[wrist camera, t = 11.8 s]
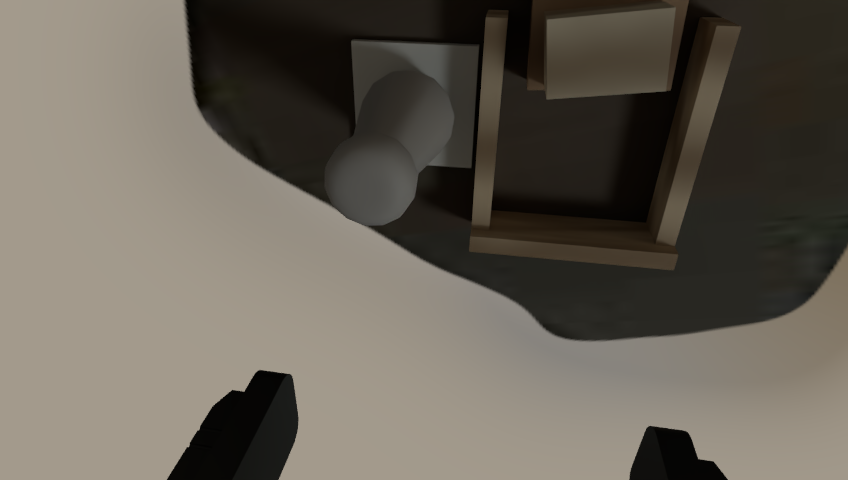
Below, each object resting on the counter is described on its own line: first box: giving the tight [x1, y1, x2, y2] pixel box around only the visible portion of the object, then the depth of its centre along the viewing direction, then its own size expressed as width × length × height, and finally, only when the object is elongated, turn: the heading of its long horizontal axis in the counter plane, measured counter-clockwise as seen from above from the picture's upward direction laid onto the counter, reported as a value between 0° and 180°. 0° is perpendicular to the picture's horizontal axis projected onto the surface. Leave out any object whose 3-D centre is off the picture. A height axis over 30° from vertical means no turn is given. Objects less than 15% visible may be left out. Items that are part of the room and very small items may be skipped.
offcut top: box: [544, 0, 676, 99], centre depth 28 cm, size 4×6×3 cm, turn 97°
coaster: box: [351, 39, 479, 168], centre depth 35 cm, size 8×8×1 cm
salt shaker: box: [325, 70, 454, 226], centre depth 29 cm, size 6×6×13 cm
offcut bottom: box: [527, 0, 689, 91], centre depth 30 cm, size 5×8×3 cm, turn 92°
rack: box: [469, 10, 741, 270], centre depth 33 cm, size 15×13×4 cm
